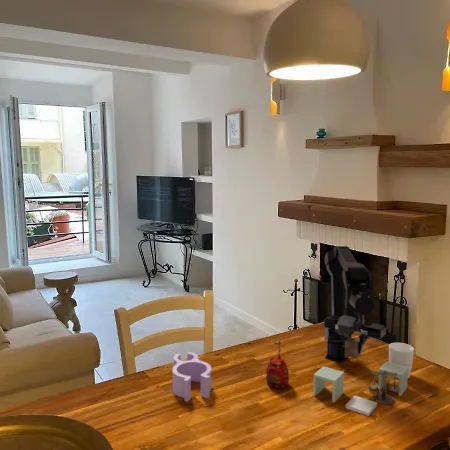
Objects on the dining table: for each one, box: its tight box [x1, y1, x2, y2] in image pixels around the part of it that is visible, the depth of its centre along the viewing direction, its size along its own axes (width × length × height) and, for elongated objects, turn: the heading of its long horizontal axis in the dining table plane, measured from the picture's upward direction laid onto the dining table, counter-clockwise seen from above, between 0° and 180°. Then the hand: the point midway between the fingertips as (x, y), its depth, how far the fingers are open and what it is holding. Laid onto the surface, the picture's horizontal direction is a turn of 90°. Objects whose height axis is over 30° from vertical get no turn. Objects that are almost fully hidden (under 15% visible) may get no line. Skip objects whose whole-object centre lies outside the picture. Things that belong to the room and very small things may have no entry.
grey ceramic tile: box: [345, 395, 378, 417], centre depth 135 cm, size 7×7×1 cm
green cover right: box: [378, 360, 409, 397], centre depth 145 cm, size 7×7×7 cm
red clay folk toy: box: [265, 337, 290, 390], centre depth 148 cm, size 8×7×15 cm
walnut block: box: [345, 336, 362, 359], centre depth 146 cm, size 4×4×5 cm
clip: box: [172, 351, 212, 402], centre depth 148 cm, size 20×12×7 cm, turn 17°
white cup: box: [388, 342, 415, 379], centre depth 154 cm, size 8×8×10 cm
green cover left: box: [312, 366, 345, 403], centre depth 142 cm, size 7×7×7 cm
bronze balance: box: [368, 371, 400, 406], centre depth 138 cm, size 9×4×10 cm, turn 53°
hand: (353, 351), depth 146 cm, fingers closed on walnut block, 4 cm apart
